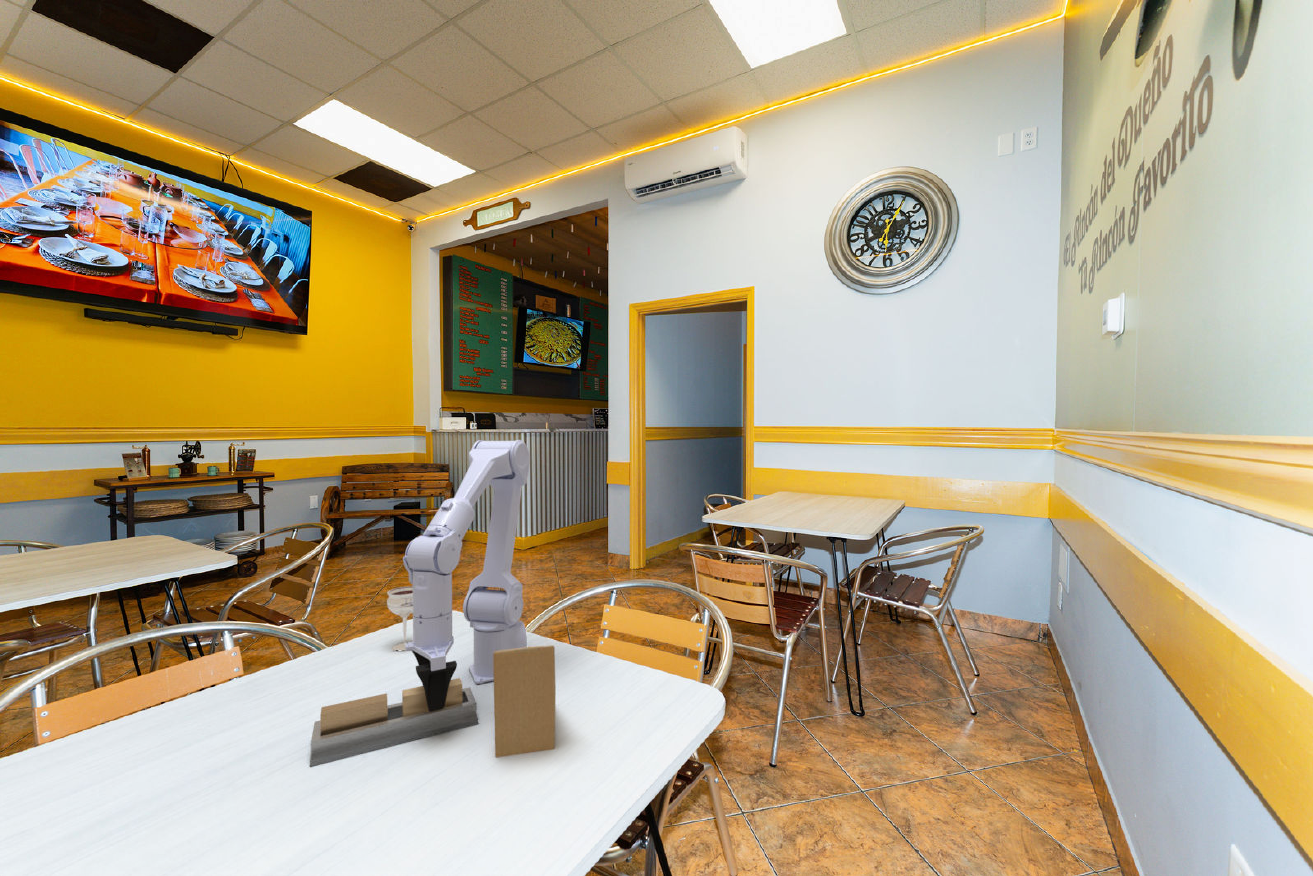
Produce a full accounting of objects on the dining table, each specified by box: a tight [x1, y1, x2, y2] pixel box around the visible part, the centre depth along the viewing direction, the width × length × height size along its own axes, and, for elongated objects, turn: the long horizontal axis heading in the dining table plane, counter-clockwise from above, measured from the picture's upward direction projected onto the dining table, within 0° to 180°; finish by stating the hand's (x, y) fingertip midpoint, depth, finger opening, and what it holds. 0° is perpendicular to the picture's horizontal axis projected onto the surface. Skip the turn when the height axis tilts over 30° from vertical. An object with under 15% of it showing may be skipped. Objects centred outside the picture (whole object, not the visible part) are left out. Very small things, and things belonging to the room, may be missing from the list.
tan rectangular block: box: [401, 677, 463, 717], centre depth 84 cm, size 8×2×4 cm, turn 119°
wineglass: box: [386, 585, 413, 652], centre depth 114 cm, size 7×7×12 cm
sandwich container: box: [493, 645, 557, 758], centre depth 83 cm, size 9×15×15 cm, turn 13°
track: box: [309, 687, 479, 767], centre depth 82 cm, size 22×9×5 cm, turn 119°
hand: (433, 698), depth 84 cm, fingers open, 7 cm apart
